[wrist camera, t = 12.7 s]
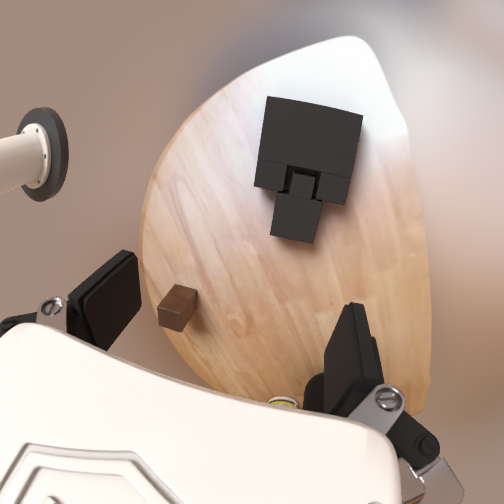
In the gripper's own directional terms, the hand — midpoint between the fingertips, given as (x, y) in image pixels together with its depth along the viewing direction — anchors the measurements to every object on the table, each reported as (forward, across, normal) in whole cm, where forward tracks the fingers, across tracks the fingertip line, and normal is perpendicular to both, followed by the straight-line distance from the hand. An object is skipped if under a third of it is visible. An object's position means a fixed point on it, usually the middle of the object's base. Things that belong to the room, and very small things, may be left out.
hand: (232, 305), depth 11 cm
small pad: (+22, -2, +1) cm, 22 cm away
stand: (+22, +11, +19) cm, 31 cm away
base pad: (+22, -2, -5) cm, 23 cm away
